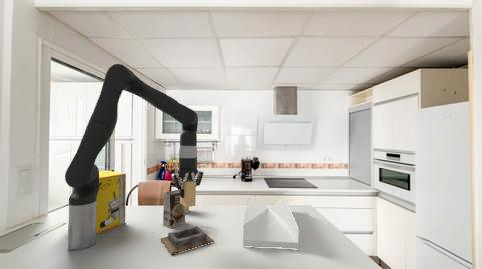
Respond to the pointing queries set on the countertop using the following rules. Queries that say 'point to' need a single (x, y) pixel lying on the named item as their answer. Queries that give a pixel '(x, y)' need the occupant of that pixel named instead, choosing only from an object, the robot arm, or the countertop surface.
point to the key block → (189, 194)
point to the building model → (269, 225)
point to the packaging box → (110, 200)
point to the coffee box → (173, 209)
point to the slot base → (185, 239)
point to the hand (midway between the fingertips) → (187, 196)
